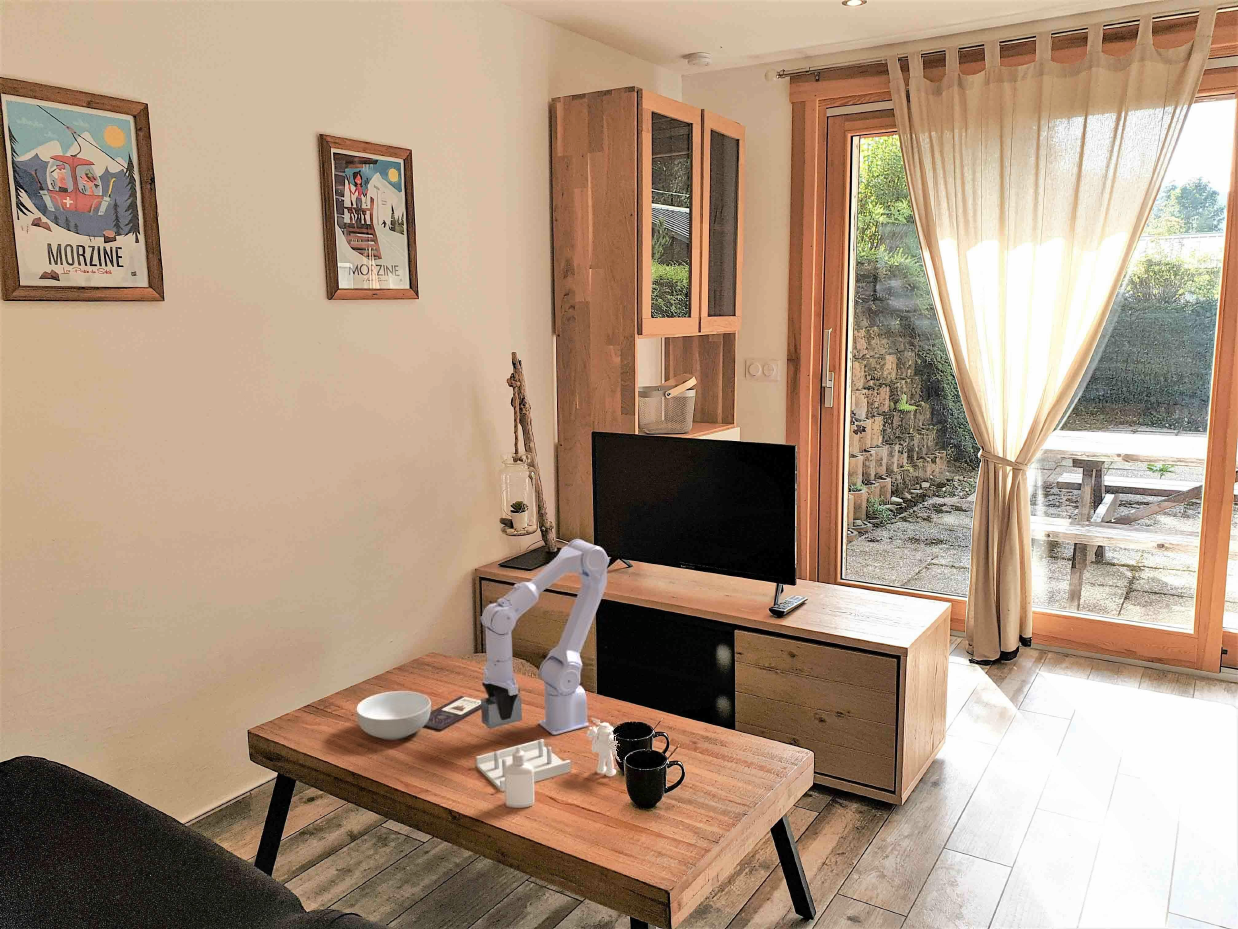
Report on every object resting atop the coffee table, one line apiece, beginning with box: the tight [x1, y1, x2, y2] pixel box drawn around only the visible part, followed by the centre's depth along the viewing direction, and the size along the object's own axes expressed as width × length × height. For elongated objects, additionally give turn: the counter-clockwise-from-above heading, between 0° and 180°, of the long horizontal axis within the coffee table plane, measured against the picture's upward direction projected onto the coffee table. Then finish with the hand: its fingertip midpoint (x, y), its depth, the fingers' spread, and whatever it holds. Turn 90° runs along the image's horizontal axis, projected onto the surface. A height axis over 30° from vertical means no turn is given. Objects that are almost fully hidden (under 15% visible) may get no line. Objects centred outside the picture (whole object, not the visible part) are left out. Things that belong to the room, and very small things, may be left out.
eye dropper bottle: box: [504, 745, 535, 809], centre depth 187 cm, size 4×6×12 cm
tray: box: [475, 738, 572, 793], centre depth 203 cm, size 16×13×4 cm
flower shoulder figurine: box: [586, 717, 621, 777], centre depth 200 cm, size 9×4×12 cm, turn 52°
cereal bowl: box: [355, 690, 432, 741], centre depth 222 cm, size 17×17×7 cm
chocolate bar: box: [422, 695, 481, 732], centre depth 232 cm, size 9×1×18 cm
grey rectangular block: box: [480, 694, 523, 730], centre depth 215 cm, size 8×4×6 cm, turn 121°
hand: (501, 715), depth 216 cm, fingers closed on grey rectangular block, 4 cm apart
